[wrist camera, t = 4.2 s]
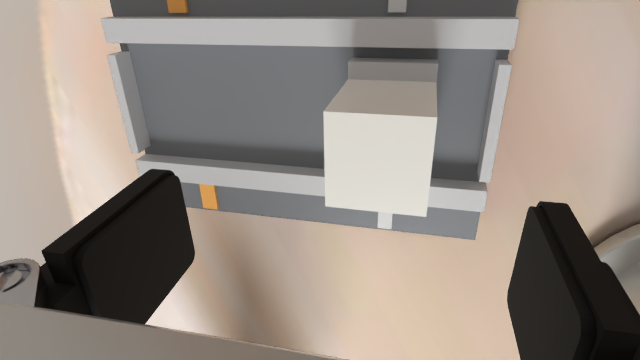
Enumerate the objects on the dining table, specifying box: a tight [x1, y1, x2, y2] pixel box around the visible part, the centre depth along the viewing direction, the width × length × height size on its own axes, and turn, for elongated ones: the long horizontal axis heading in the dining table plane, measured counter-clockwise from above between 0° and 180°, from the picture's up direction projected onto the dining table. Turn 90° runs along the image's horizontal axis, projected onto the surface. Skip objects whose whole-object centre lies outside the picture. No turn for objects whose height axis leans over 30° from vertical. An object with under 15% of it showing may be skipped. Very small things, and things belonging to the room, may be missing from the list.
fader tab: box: [323, 57, 438, 217], centre depth 18 cm, size 4×6×6 cm
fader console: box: [101, 0, 519, 240], centre depth 22 cm, size 20×14×3 cm
